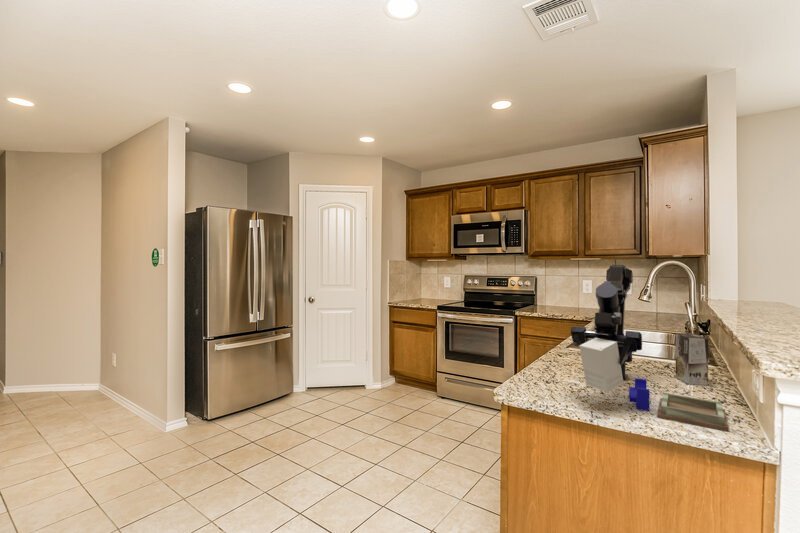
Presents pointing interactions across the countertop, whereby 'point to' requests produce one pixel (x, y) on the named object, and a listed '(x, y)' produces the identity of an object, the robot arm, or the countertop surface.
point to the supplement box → (601, 364)
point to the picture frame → (693, 411)
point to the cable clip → (640, 394)
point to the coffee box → (692, 358)
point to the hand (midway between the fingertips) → (602, 361)
